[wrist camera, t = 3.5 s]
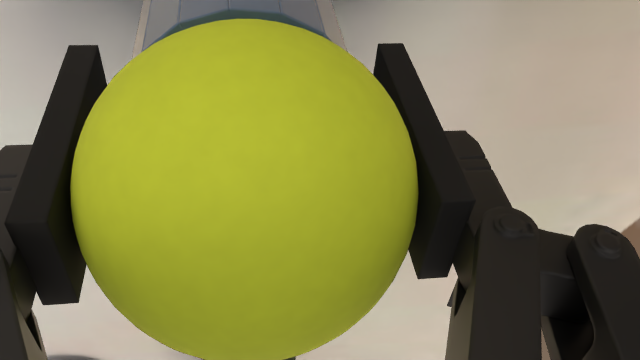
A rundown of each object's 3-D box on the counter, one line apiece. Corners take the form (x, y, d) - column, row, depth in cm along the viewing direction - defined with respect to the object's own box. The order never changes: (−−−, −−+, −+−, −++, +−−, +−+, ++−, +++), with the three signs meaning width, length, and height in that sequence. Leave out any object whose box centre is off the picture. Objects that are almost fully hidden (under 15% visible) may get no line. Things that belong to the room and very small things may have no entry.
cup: (246, -143, 18) (259, -45, 13) (352, -1, 22) (399, 123, 17) (113, -22, 20) (73, 108, 15) (232, 88, 24) (237, 224, 19)
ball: (261, -114, 13) (298, 90, 7) (425, 104, 17) (527, 327, 12) (36, 83, 15) (-72, 349, 9) (234, 223, 20) (242, 453, 14)
